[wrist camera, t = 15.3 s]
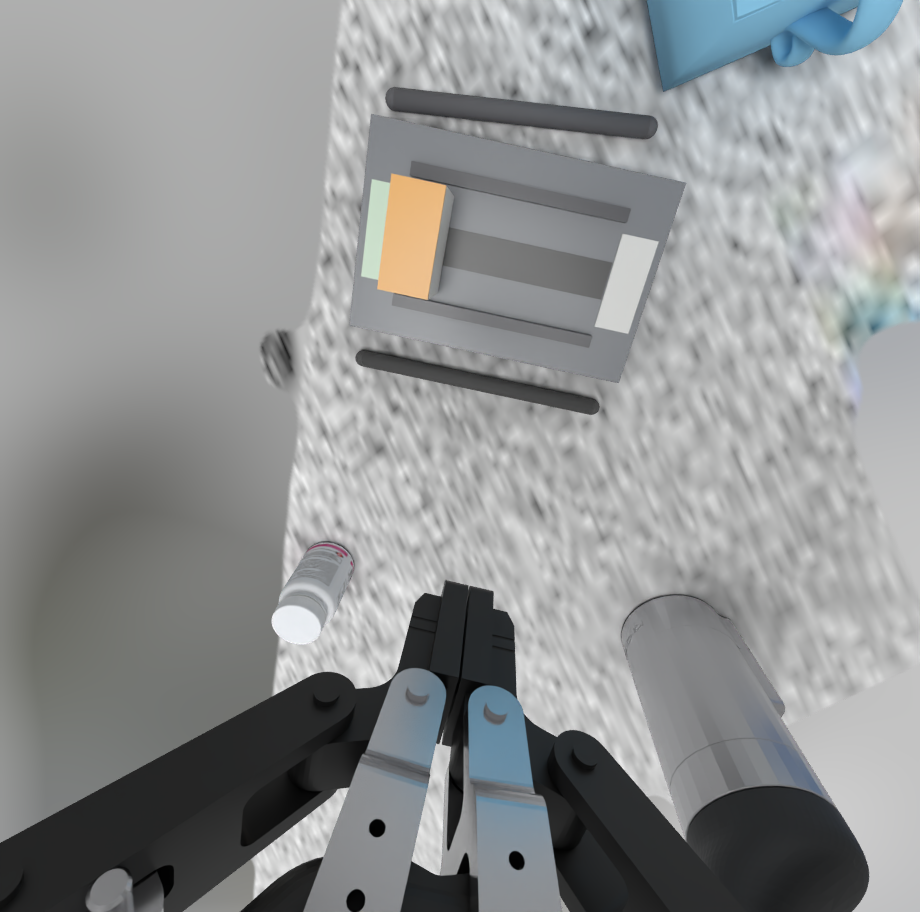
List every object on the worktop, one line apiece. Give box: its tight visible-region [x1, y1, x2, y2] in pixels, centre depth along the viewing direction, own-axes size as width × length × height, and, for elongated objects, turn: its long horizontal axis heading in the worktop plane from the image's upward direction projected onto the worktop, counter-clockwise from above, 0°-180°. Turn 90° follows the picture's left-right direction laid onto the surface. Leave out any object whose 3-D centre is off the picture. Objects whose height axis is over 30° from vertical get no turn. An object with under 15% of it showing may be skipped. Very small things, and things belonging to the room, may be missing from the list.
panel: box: [349, 114, 686, 383], centre depth 33 cm, size 20×13×3 cm, turn 79°
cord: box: [385, 87, 658, 139], centre depth 30 cm, size 17×1×1 cm, turn 84°
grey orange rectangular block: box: [377, 173, 454, 300], centre depth 29 cm, size 3×6×5 cm, turn 169°
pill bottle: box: [272, 542, 354, 645], centre depth 42 cm, size 5×5×8 cm
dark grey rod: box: [356, 350, 599, 415], centre depth 37 cm, size 19×1×1 cm, turn 79°
